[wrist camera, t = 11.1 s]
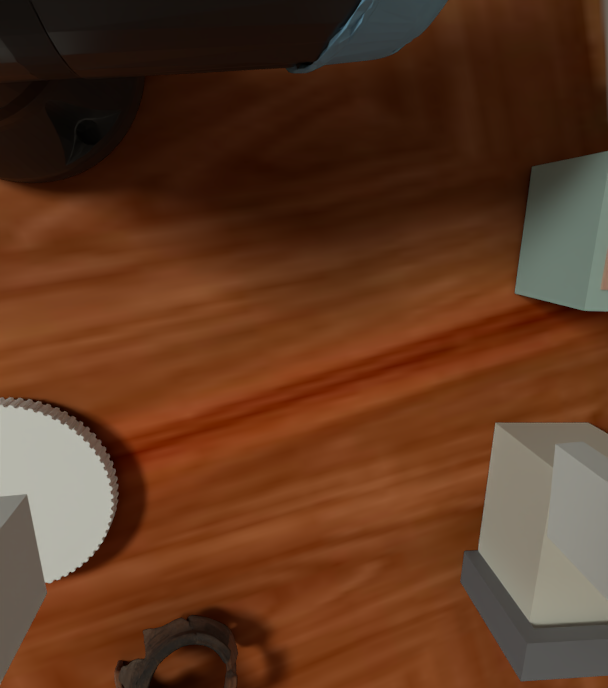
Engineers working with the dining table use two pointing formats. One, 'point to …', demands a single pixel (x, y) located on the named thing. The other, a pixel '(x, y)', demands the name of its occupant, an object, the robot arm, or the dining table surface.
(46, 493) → the plastic lid
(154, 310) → the dining table surface
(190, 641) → the brown hollow ring
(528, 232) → the retro monitor box
